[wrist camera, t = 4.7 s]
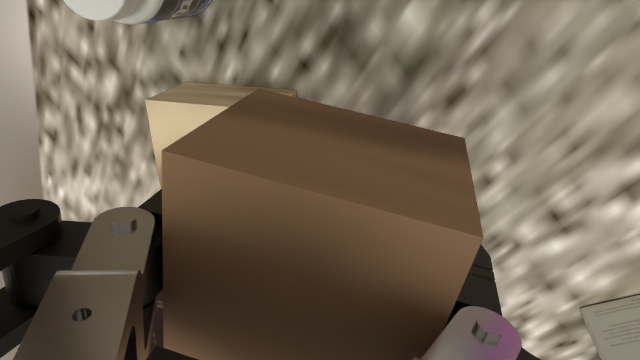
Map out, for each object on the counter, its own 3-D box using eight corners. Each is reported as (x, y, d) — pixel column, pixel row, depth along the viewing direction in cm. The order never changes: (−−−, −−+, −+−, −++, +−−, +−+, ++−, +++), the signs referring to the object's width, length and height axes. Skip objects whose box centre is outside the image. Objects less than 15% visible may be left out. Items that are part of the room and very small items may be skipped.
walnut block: (258, 88, 12) (161, 150, 8) (464, 138, 11) (483, 237, 7) (241, 250, 15) (163, 362, 11) (406, 299, 14) (394, 442, 10)
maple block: (187, 81, 30) (145, 99, 25) (297, 89, 28) (271, 110, 23) (200, 183, 33) (165, 215, 29) (298, 195, 31) (276, 231, 27)
